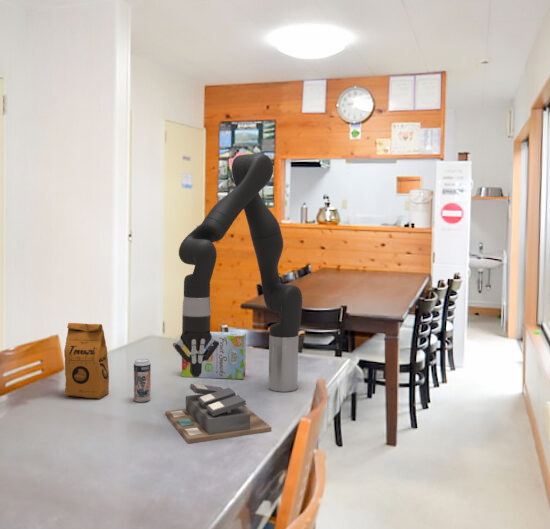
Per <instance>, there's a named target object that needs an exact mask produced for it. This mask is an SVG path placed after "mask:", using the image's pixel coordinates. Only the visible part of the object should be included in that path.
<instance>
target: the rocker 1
mask: <svg viewBox="0 0 550 529" xmlns="http://www.w3.org/2000/svg"><path fill="white" fill-rule="evenodd" d="M189 389H190V390H191V391H192V392H193V393H195V394H197V395H198V394H205V395H208V394H211V393H214V392H217V391H220V390H223V389H224V388H222V386H213V385H205V384H197V383H190V385H189Z"/></svg>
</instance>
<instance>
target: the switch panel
mask: <svg viewBox="0 0 550 529" xmlns="http://www.w3.org/2000/svg"><path fill="white" fill-rule="evenodd" d="M202 396H205V394H198V393H197V394H193V395H191V394H190V395H185V408H182V409H174V410H167V411H165V412H164V413H165V414H164V415H165V416H167V417H166V418H167V419H168V420H169V422H170V423H171V424H172V425H173V426H174V427H175V430H177V431H178V433H179V434H180V436H182V437H183V439H184V440H185V442H186V443H187V444H188V445H189V444H194V443H202V442H207V441H213V440H214V441H215V440H221V439H228V438H234V437H242V436H248V435H254V434H262V433H267V432H272V426H271V425H269V424H268V423H267V422H265V421H264V419H261V418H260V416H258V415H257V414H255V413H254V411H252V410H251V409H249V408H248V407H247V406H246V405H244V406H241V407H238V408H236V409H233V410H231V413H227V412H224V413H221V414H218V415H216V416H212V415H211V414H210V413H209V412H208V411H207V409H206V407H205V408H204V407H203V406H202V405H201V404H200V403H199V402H198V398H199V397H202Z"/></svg>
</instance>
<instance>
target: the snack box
mask: <svg viewBox="0 0 550 529" xmlns="http://www.w3.org/2000/svg"><path fill="white" fill-rule="evenodd" d="M210 333H211V335H212V339H214V340H216V341H217V342H219V345H218V347H217V348H216V349H215V351H214V352H213V354H212V355H211V356H210V358H209V359H208V360H205V361H203V362H202V373H201V374H199V377H198V378H202V379H204V378H205V379H208V378H209V379H230V380H244V378H245V377H246V369H247V368H246V365H247V364H246V359H247V358H246V355H247V354H246V349H247V348H246V347H247V343H246V342H247V333H246V332H228V331H210ZM182 345H183V348H182V350H183V351H184V352H185V353H186V355H187V356H188V357H189V352H188V349H187V348H186V346H185V345H184V344H182ZM208 346H209V343H208V345H207V346H206V347H205V349H204V352H205V351H206V349H207V348H208ZM181 377H182V378H194V377H193V376H192V375H191V373H190V362H186V361H185V360H184V359H183V358H182V357H181Z"/></svg>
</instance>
